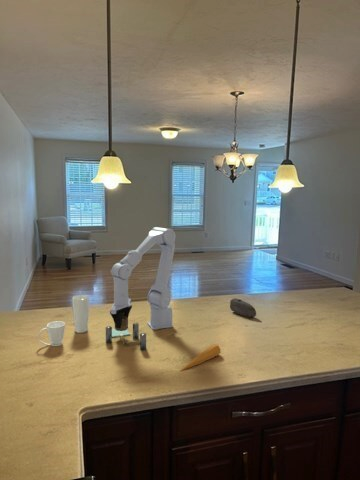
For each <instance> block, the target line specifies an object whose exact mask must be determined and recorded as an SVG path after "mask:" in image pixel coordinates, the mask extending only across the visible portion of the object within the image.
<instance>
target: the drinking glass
mask: <svg viewBox="0 0 360 480" xmlns="http://www.w3.org/2000/svg"><path fill="white" fill-rule="evenodd" d="M71 305H72V314H73V323H74V332H75V333H78V334H81V333H82V334H83V333H87V332H88V330H89V327H88V326H89V315H90V314H89V312H90V297H89V295H87V294H77V295H74V296H73V297H72V304H71Z"/></svg>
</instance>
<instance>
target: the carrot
mask: <svg viewBox="0 0 360 480" xmlns="http://www.w3.org/2000/svg"><path fill="white" fill-rule="evenodd" d="M220 353H221V348H220V346H219V345H218V344H216V343H214V344H213V343H212V344H211V345H210V346H209V347H208V348H206V349H205V350H204V351H202V352H201V353H200V354H198V355H197V356H196V357H194V358H193V359H192V360H191V361H189V363H187V364H186V365H185V366H184V367H183V368H182V369H180V370H179V372H181V371H185V370H187V369H190V368H192V367H195V366H197V365H200V364H202V363H204V362H207V361H209V360H211V359H213V358H216V357H218V356H219V355H220ZM215 356H216V357H215ZM206 360H207V361H206ZM199 363H200V364H199Z"/></svg>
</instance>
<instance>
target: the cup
mask: <svg viewBox="0 0 360 480" xmlns="http://www.w3.org/2000/svg"><path fill="white" fill-rule="evenodd" d="M65 326H66V322H64V321H62V320H58V321H56V320H55V321H50V322H48V323H47V325H46V327H44V328H42V329H40V330H39V333H38V340H39V341H40V343H41V344H43V345H45V346H51V347H59V346H61V345H62V344H63V340H64V336H65V328H66V327H65ZM43 331H47V334H48V335H47V336H48V339H49V342H50V343H46V342H45V341H43V340H41V339H40V337H41V333H42V332H43ZM62 346H63V345H62Z"/></svg>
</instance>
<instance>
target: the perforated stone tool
mask: <svg viewBox="0 0 360 480" xmlns="http://www.w3.org/2000/svg"><path fill="white" fill-rule="evenodd" d="M229 309H230V310H231V311H232V312H234V314H235V313H236V314H238V315H241V316H243V317H246V318H247V317H248V318H254V317H256V316H257V311H256V308H255V306H253V305H251V303H248V302H246V301H245V300H242V299H240V298H236V297H235V298H232V299H231V300H230V302H229Z"/></svg>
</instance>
